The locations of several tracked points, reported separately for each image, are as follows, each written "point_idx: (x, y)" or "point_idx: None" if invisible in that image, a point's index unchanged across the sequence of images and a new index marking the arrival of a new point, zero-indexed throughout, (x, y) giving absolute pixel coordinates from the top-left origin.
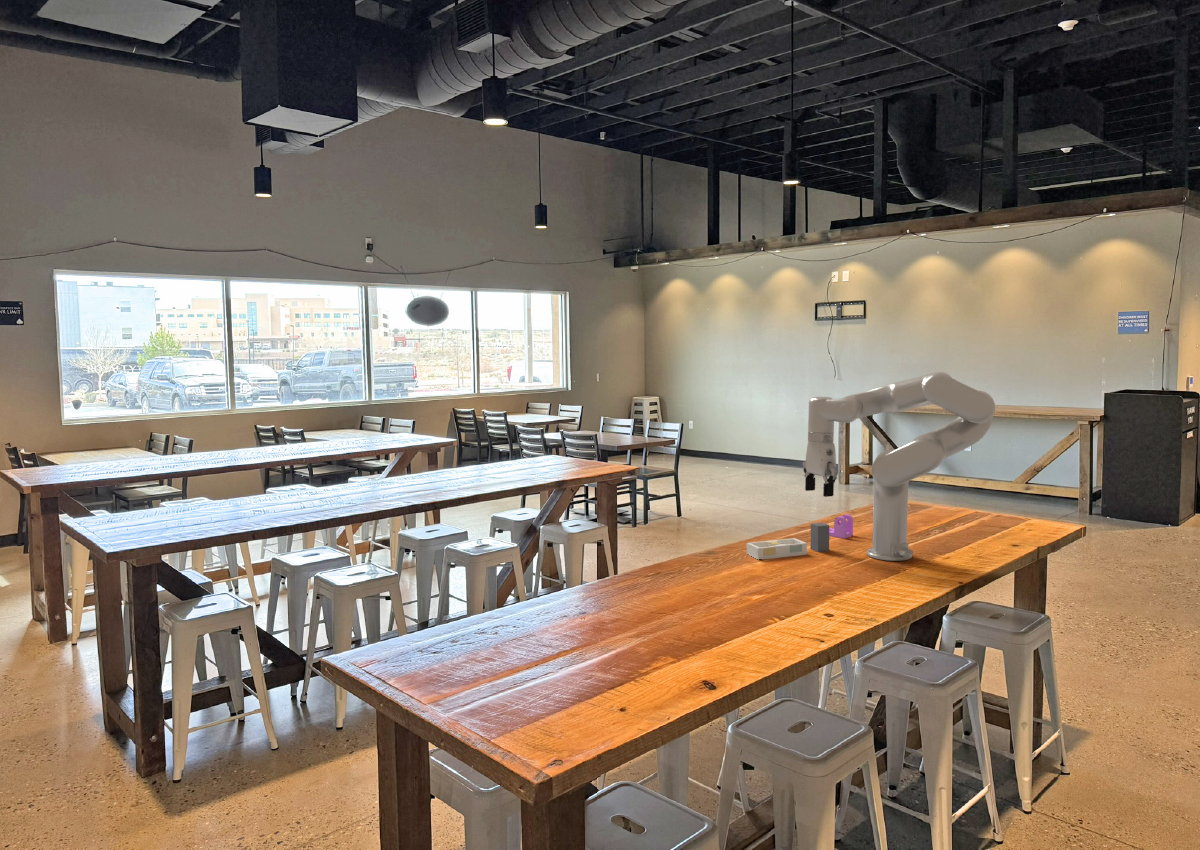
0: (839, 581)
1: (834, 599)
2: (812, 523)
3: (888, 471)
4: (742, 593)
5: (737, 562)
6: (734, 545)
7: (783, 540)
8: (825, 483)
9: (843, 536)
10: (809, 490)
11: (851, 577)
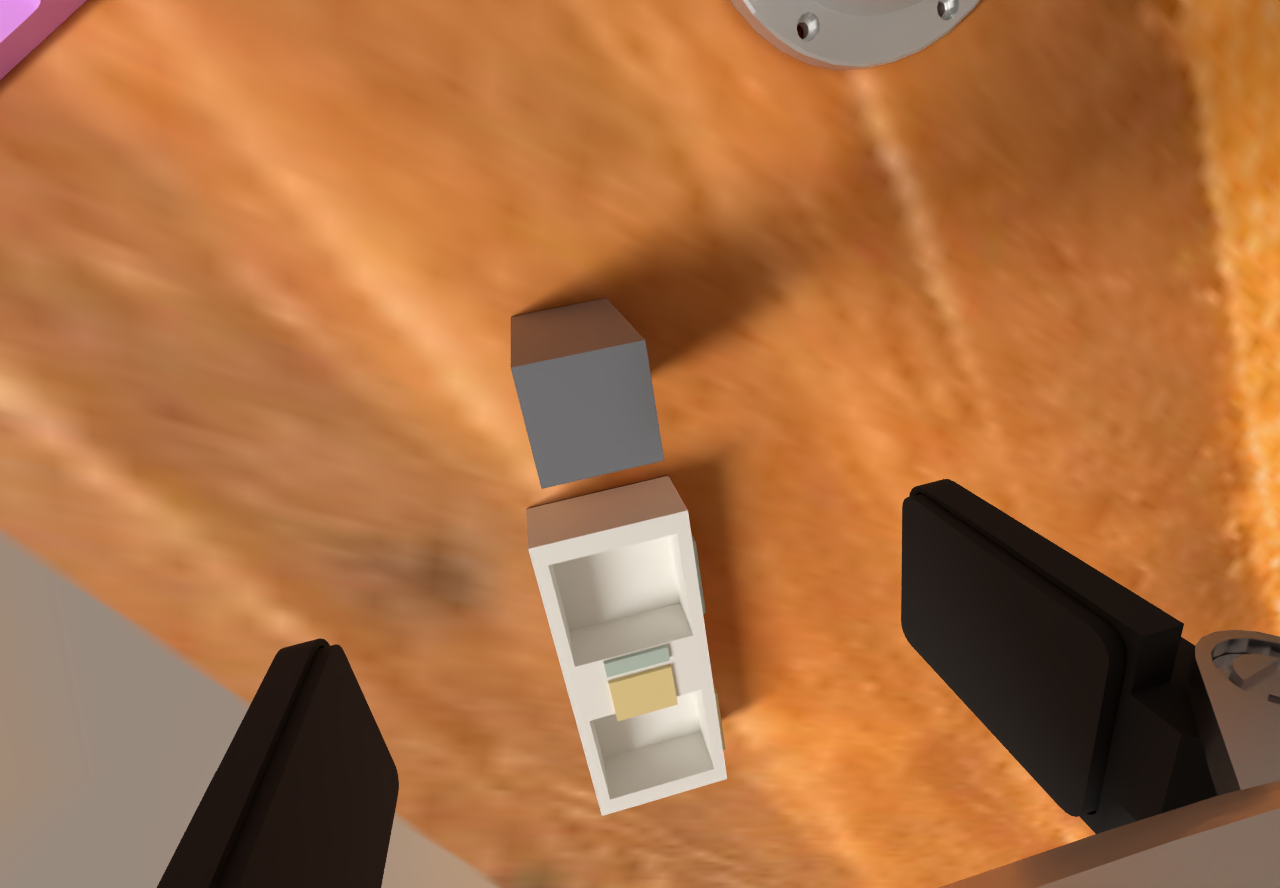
0: (1134, 477)
1: (1273, 568)
2: (542, 472)
3: None
4: None
5: (721, 802)
6: None
7: (564, 624)
8: (1133, 809)
9: None
10: (369, 730)
11: (1118, 400)
